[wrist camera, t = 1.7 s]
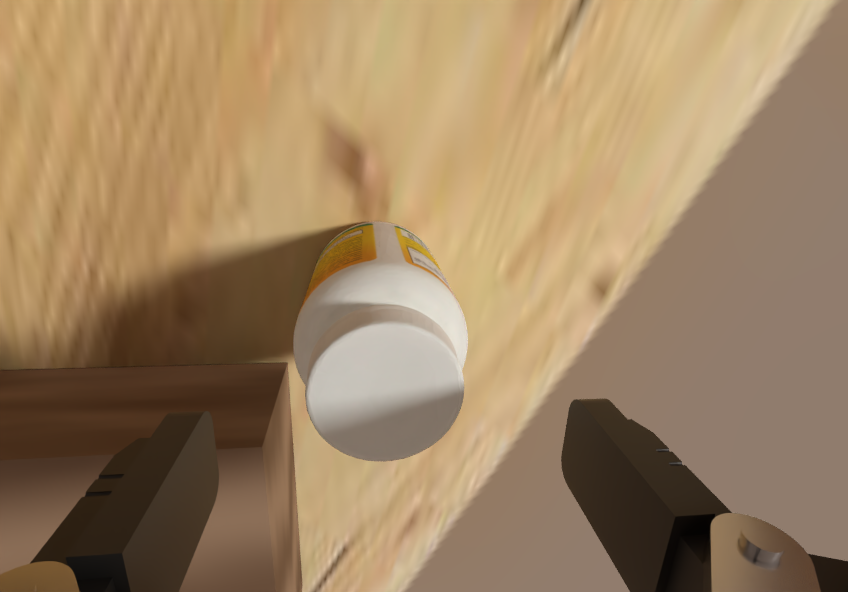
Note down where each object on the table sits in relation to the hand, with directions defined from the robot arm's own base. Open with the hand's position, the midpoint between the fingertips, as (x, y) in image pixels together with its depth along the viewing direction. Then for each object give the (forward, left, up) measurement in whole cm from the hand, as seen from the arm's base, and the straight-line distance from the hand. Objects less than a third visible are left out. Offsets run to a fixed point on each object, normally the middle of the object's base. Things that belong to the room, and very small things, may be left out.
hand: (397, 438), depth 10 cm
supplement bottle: (0, 0, -11) cm, 11 cm away
